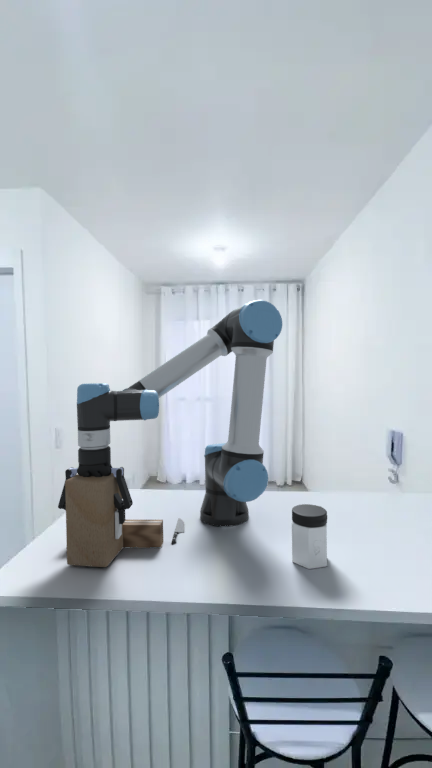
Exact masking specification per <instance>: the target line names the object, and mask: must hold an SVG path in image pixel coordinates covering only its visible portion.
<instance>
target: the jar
mask: <svg viewBox="0 0 432 768" xmlns="http://www.w3.org/2000/svg"><path fill="white" fill-rule="evenodd" d="M291 520H292V521H291V551H292V552H291V561H292V563H294V564H296V565H299V566H301V567H302V568H305V569H308V570H311V569H318V568H325V567H327V566H328V537H327V535H328V532H327V531H328V530H327V529H328V528H327V527H328V526H327V524H328V511H327V509H325V508H324V507H322V506H320V505H316V504H309V503H308V504H305V503H304V504H303V503H302V504H298V505H295V506H293V507H292V509H291Z"/></svg>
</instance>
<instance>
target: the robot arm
mask: <svg viewBox="0 0 432 768" xmlns="http://www.w3.org/2000/svg"><path fill="white" fill-rule="evenodd" d="M282 329H283V319H282V315H281V312H280V311H279V310H278V308H277V307H276V306H275V305H274V304H272V303H271V302H269V301H267V300H264V299H257V300H251V301H248V302H246V303H244V304H243V305H242V306H240V307H238V308H235V309H232V311H230V312H229V313H228V314H227V315H226V316H224V317H223V318H222V319H221V320H220V321H219V322H218V323H216V324H215V325H214V326H211V327H210V328H209V329H208V330H207V332H206V335H205V336H203V337H202V338H200V339H198V340H197V341H196V342H194V343H193V344H191V345H190V346H188V347H187V348H185V349H184V350H182V351H181V352H180V353H178V354H176V355H175V356H173V357H172V358H170V359H168V360H167V361H166V362H165V363H163V364H161V365H160V366H158V367H157V368H155V369H154V370H153V371H151V372H150V373H148V374H147V375H145V376H143V377H142V378H141V379H139V380H138V381H136V382H135V383H133V384H131V385H130V386H129V387H126V388H124V389H122V390H118V391H117V390H111V388H110V385H109V383H106V382H105V383H104V382H103V383H97V382H96V383H94V382H93V383H92V382H91V383H82V384H79V385H78V386H77V391H76V419H77V421H76V422H77V446H78V447H79V448H78V450H77V457H78V458H77V461H78V466H77V467H73V466H71V467H69V468H68V469H65V471H64V472H65V480H64V484H63V487H62V491H61V495H60V499H59V501H58V504H57V508H58V509H60V510H62V509H63V510H65V511H66V495H65V481H66V480H68V479H70V478H72V477H74V476H76V475H77V474H78V475H79V476H83V477H89V476H95V477H102V476H109V475H110V474H111V473H113V474H114V477H116V481H117V484H118V487H119V490H120V493H121V496H122V498H121V497H120V495H119V494H118V493H115V494H114V505H115V506H116V508H117V510H116V511H115V539H119V538H120V536H121V535H122V524H123V523H124V522H125V520H126V510H129V509H131V506H132V505H134V504H133V503H134V502H133V499H132V496H131V494H130V490H129V487H128V484H127V481H126V478H125V468H124V467H123V466H120V467H113V466H112V463H111V460H112V456H111V455H112V454H111V453H112V452H111V446H110V444H111V422H117V421H118V422H122V421H147V420H155V419H156V418H158V417H159V414H160V398H162V397H163V396H164V395H166V394H167V393H169V392H170V391H171V390H173V389H174V388H176V387H178V386H179V385H180V384H181V383H183V382H185V381H186V380H187V379H189V378H190V377H192V376H193V375H195V374H196V373H198V372H199V371H200V370H202V369H204V368H205V367H206V366H208V365H209V364H211V363H212V362H214V361H215V360H216V359H218V358H219V357H221V356H222V357H226V356H228V355H230V354H231V353H234V355H235V361H234V372H233V384H232V392H231V406H230V415H229V416H230V417H229V428H228V435H227V437H228V438H227V442H225V443H224V442H223V443H222V442H221V443H213V444H208V445H206V446H205V448H204V455H203V456H204V475H205V476H204V478H205V479H204V481H205V483H204V484H205V491H204V492H205V494H204V496H203V500H202V504H201V507H200V510H199V512H200V513H199V515H200V520H201V521H202V522H203V523H205V524H207V525H210V526H214V527H233V526H239V525H241V524H243V523H245V522H247V521H248V519H249V516H250V515H249V514H250V513H249V508H248V505H247V504H248V502H252V501H255V500H256V499H258V498H260V496H261V495H263V493H264V492H265V490H266V489H267V487H268V484H269V483H268V482H269V472H268V470H267V468H266V466H265V465H264V452H265V451H264V450H263V448H262V447H261V446H260V433H261V425H262V424H261V423H262V412H263V403H264V401H263V400H264V392H265V391H264V389H265V380H266V369H267V359H268V357H269V356H271V355H272V354H273V353H274V343H275V340H276V339H277V338H278V337H279V336H280V334H281V333H282Z"/></svg>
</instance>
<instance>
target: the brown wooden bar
mask: <svg viewBox="0 0 432 768" xmlns="http://www.w3.org/2000/svg"><path fill="white" fill-rule="evenodd" d="M163 543H164V519H125V522H124V523H123V548H122V549H124V548H125V547H130V548H131V547H133V548H131V549H138V548H139V549H145V548H146V549H151V548H150V547H161V548H162V546H163ZM134 547H136V548H134ZM137 547H138V548H137Z"/></svg>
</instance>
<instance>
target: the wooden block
mask: <svg viewBox="0 0 432 768" xmlns="http://www.w3.org/2000/svg"><path fill="white" fill-rule="evenodd" d="M65 480H66V479H65ZM65 480H64V483H65V495H66V510H65V525H66V526H65V527H66V529H65V531H66V533H65V534H66V535H65V536H66V564H67V565H68V566H80V567H81V566H82V567H96V568H106V567H108V566H109V565H110V564H111V563H112V561H113V560H114V559H115V558H116V557H117V555H118V554H119V553H120V552H121V551H122V550H123V549H124V548H123V524H122V535H121V536H120V538H119V539H115V511H116V510H117V508H116V506H115V505H114V494H115V493H118V494H119V495H120V497H121V498H122V496H121V493H120V490H119V487H118V484H117V481H116V477H114V474H113V473H111V474H110V475H109V476H102V477H95V476H89V477H83V476H79V475H78V473H77V475H76V476H74V477H72V478H70V479H68V480H66V481H65Z"/></svg>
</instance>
